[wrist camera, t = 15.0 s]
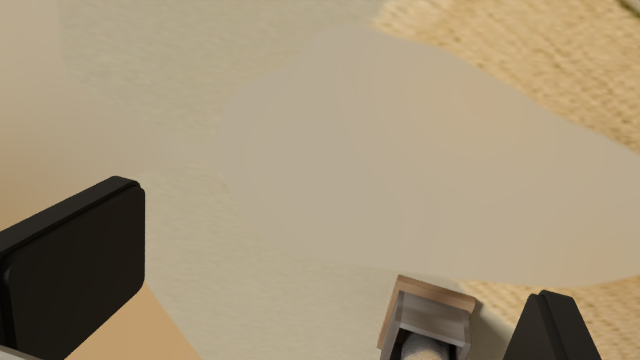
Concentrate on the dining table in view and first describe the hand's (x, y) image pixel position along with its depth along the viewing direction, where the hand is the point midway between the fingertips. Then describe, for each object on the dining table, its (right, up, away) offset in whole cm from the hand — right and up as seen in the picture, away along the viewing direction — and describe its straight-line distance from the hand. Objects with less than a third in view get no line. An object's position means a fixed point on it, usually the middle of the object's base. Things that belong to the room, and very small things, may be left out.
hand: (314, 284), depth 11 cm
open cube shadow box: (+10, -11, +32) cm, 35 cm away
